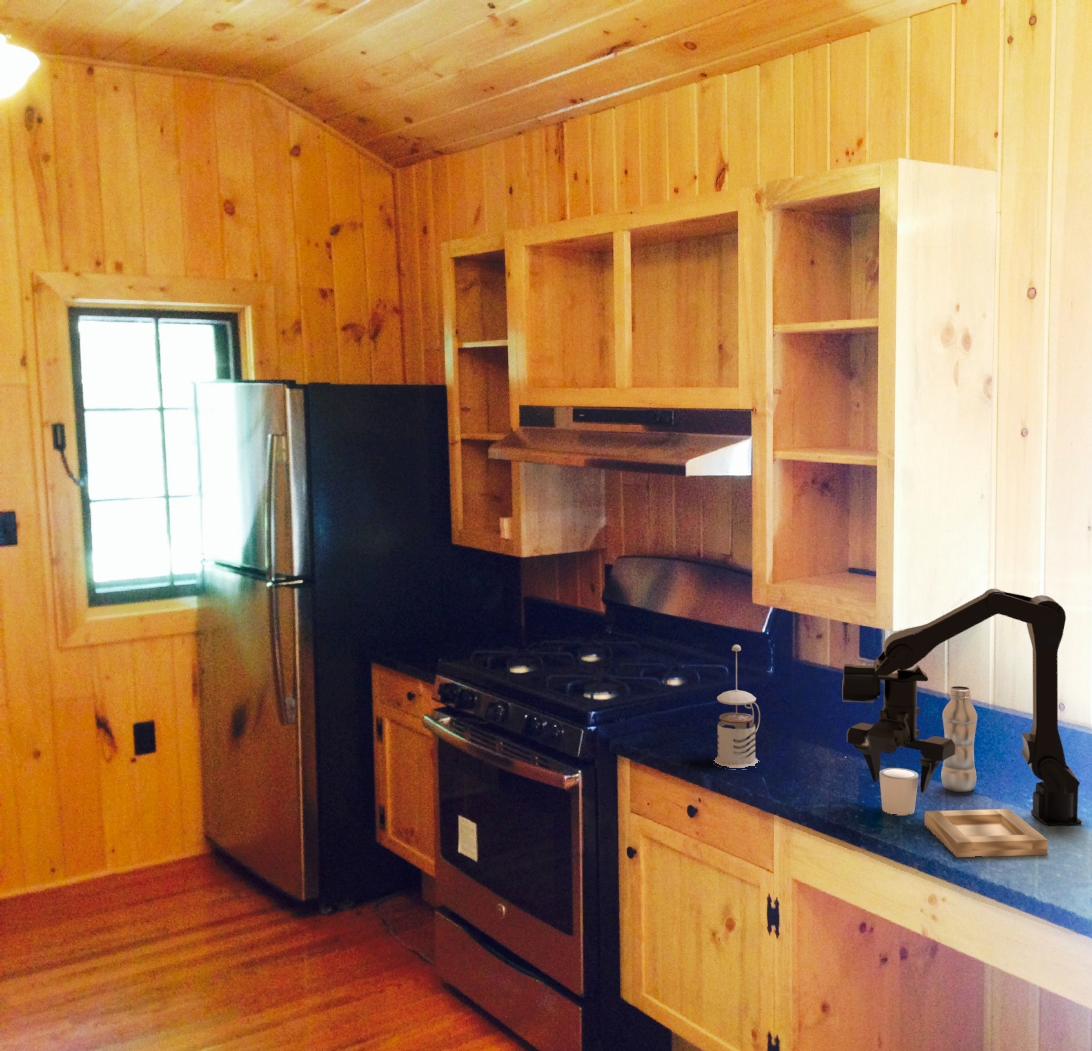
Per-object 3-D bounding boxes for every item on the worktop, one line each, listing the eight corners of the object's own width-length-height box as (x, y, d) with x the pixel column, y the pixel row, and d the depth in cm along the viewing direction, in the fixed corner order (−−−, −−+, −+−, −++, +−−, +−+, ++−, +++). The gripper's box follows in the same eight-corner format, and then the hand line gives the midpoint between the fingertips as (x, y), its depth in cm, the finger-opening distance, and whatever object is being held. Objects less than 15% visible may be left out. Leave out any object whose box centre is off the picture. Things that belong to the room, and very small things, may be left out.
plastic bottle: (940, 794, 224) (941, 691, 222) (941, 783, 230) (942, 682, 228) (976, 797, 222) (978, 693, 220) (976, 786, 228) (978, 685, 226)
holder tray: (1008, 822, 208) (1008, 808, 208) (1047, 854, 193) (1047, 839, 193) (924, 824, 208) (924, 811, 207) (956, 857, 193) (957, 842, 192)
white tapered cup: (888, 801, 220) (888, 765, 220) (923, 808, 216) (924, 771, 215) (872, 811, 215) (873, 774, 214) (909, 819, 211) (909, 781, 210)
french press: (703, 762, 246) (702, 644, 244) (738, 751, 254) (738, 637, 252) (740, 772, 239) (739, 651, 237) (775, 760, 247) (775, 643, 244)
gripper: (831, 703, 214) (831, 787, 216) (929, 721, 201) (928, 809, 203) (861, 692, 222) (860, 772, 224) (957, 708, 209) (955, 793, 211)
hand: (899, 786), depth 215 cm, fingers open, 9 cm apart
